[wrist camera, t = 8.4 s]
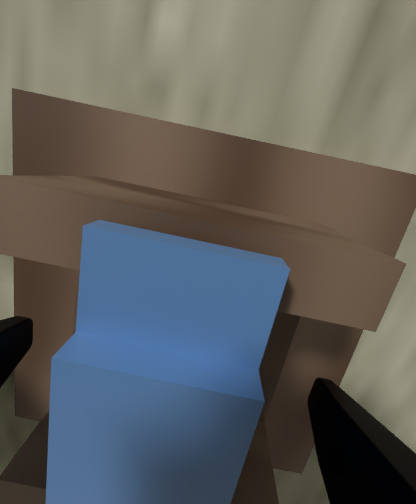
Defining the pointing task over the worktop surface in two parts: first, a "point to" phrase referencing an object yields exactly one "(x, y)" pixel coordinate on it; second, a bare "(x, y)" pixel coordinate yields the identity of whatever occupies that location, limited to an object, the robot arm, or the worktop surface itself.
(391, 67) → the worktop surface
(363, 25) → the worktop surface
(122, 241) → the block
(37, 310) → the cradle
